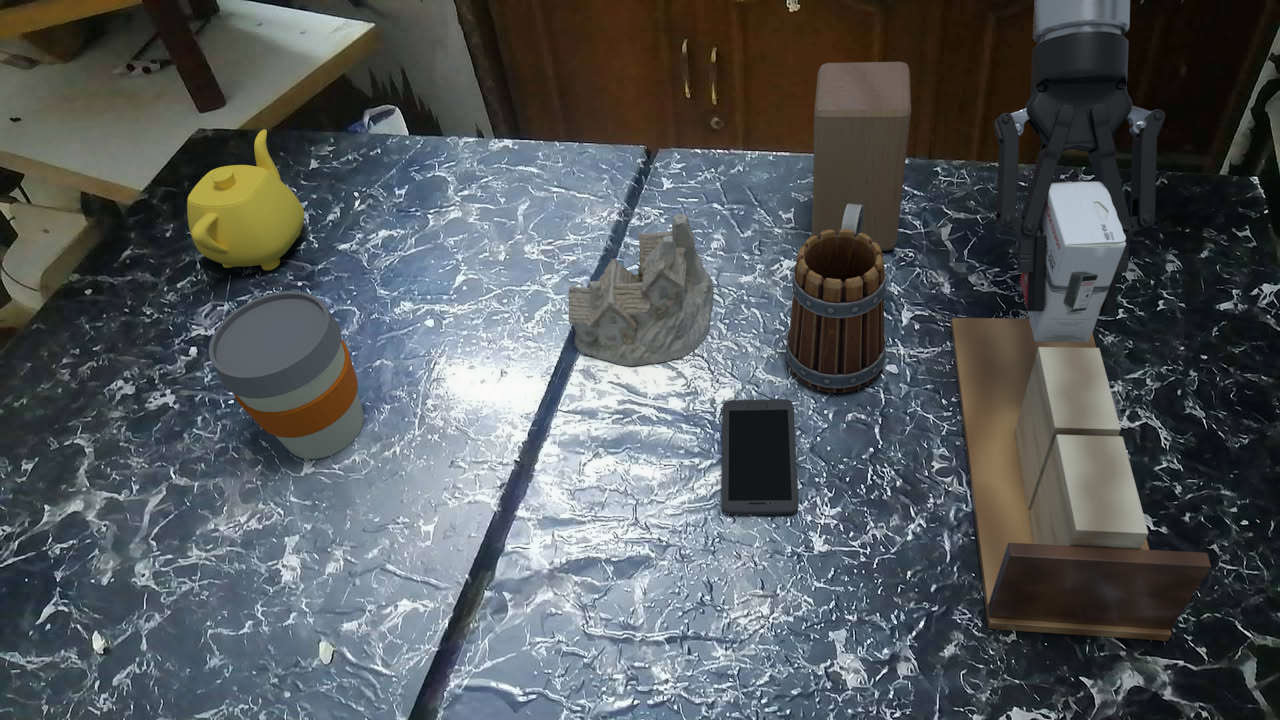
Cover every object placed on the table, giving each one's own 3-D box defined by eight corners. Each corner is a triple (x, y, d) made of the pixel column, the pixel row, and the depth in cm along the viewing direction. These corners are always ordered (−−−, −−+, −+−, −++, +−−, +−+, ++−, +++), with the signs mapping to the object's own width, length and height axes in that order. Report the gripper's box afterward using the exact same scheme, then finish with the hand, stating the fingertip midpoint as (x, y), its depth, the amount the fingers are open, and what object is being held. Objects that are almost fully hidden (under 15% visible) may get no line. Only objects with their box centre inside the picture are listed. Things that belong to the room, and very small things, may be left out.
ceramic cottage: (727, 273, 112) (710, 173, 101) (696, 377, 102) (673, 279, 91) (606, 267, 116) (577, 171, 106) (565, 366, 107) (528, 272, 96)
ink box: (1017, 278, 89) (1044, 178, 80) (1070, 278, 88) (1103, 177, 80) (1033, 344, 83) (1064, 244, 75) (1090, 344, 83) (1129, 243, 74)
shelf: (1086, 326, 99) (1117, 231, 90) (1167, 641, 76) (1222, 557, 66) (950, 325, 102) (966, 232, 92) (987, 629, 78) (1015, 546, 68)
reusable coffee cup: (264, 406, 106) (204, 312, 95) (371, 370, 108) (324, 274, 97) (272, 488, 98) (207, 397, 87) (388, 448, 100) (339, 353, 89)
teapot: (339, 201, 132) (305, 126, 123) (273, 297, 119) (231, 221, 110) (256, 197, 135) (218, 124, 126) (184, 291, 122) (135, 217, 113)
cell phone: (793, 402, 97) (793, 397, 96) (799, 515, 88) (799, 511, 87) (722, 404, 98) (722, 399, 97) (721, 515, 89) (720, 511, 88)
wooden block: (895, 201, 117) (910, 57, 103) (896, 254, 111) (912, 108, 96) (815, 200, 119) (818, 59, 105) (811, 252, 113) (814, 108, 98)
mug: (877, 404, 96) (887, 299, 85) (776, 387, 99) (774, 284, 88) (898, 301, 105) (910, 195, 94) (805, 289, 108) (807, 185, 98)
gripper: (1176, 49, 82) (1165, 313, 83) (962, 56, 85) (955, 310, 86) (1213, 22, 74) (1200, 312, 75) (977, 31, 78) (968, 310, 79)
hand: (1069, 311), depth 81 cm, fingers closed on ink box, 5 cm apart
